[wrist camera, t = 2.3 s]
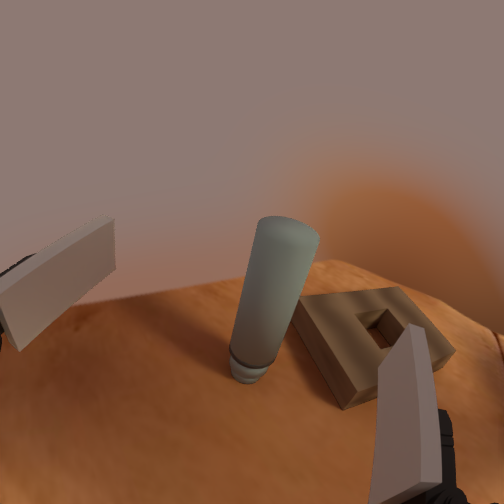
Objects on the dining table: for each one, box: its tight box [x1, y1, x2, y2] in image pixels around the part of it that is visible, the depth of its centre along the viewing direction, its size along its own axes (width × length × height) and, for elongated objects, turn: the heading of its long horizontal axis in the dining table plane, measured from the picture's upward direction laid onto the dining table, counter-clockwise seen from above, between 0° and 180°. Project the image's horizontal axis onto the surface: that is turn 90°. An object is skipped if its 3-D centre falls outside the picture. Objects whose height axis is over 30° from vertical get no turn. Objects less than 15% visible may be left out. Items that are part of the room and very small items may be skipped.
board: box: [291, 287, 456, 410], centre depth 34 cm, size 18×14×4 cm
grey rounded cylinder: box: [229, 216, 320, 384], centre depth 25 cm, size 4×4×16 cm
